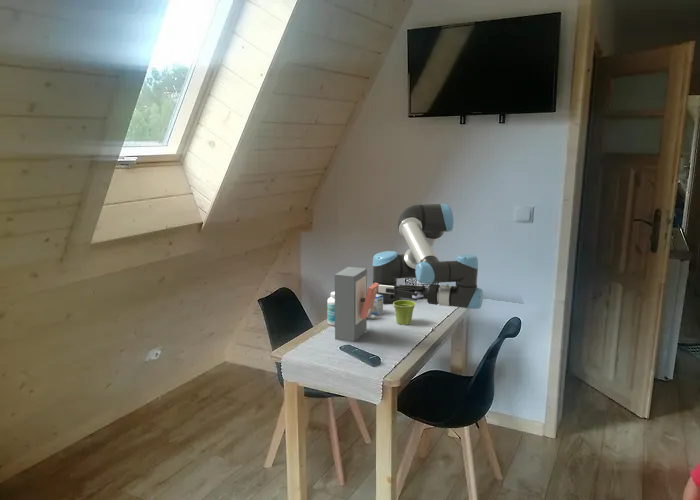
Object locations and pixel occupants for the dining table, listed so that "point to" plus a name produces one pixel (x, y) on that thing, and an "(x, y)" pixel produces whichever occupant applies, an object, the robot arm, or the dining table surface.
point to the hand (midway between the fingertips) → (378, 288)
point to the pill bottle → (331, 309)
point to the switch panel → (350, 303)
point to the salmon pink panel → (369, 300)
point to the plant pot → (404, 311)
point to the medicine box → (378, 305)
